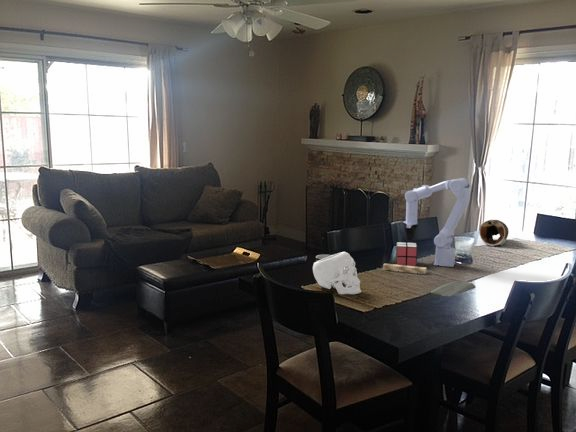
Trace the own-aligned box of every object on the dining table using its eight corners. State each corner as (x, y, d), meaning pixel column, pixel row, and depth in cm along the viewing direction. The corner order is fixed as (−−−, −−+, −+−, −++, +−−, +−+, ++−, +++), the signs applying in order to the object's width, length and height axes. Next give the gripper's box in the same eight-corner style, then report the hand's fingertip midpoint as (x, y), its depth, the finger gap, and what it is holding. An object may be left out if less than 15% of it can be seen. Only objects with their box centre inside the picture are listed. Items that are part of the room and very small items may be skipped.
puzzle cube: (416, 267, 255) (417, 247, 253) (395, 266, 257) (396, 246, 255) (415, 262, 264) (416, 242, 263) (395, 261, 266) (396, 242, 265)
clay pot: (513, 220, 315) (505, 218, 295) (514, 245, 314) (506, 245, 293) (488, 221, 324) (478, 219, 303) (489, 246, 322) (479, 245, 302)
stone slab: (476, 290, 223) (455, 282, 230) (477, 284, 222) (456, 276, 229) (448, 302, 208) (427, 293, 215) (450, 296, 207) (428, 287, 214)
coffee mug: (321, 281, 230) (322, 260, 228) (312, 277, 237) (312, 255, 236) (343, 278, 235) (344, 257, 233) (333, 273, 243) (333, 253, 241)
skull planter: (355, 295, 205) (337, 250, 208) (319, 308, 217) (302, 265, 220) (373, 287, 215) (355, 244, 218) (337, 300, 228) (321, 259, 231)
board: (426, 272, 244) (426, 267, 244) (425, 274, 241) (425, 269, 241) (384, 268, 252) (384, 263, 251) (382, 269, 249) (383, 264, 249)
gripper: (406, 211, 275) (405, 236, 277) (401, 215, 261) (400, 241, 264) (420, 211, 272) (419, 237, 274) (415, 216, 259) (414, 242, 261)
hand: (410, 239), depth 269 cm, fingers open, 4 cm apart
